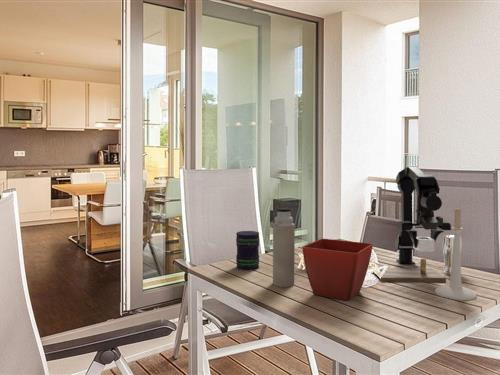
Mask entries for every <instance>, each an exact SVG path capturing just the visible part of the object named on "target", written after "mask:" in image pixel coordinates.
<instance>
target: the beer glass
mask: <svg viewBox="0 0 500 375" xmlns="http://www.w3.org/2000/svg"><path fill="white" fill-rule="evenodd" d="M454 237H455V236H454V234H444V235H443V238H442V252H443V253H442V254H443V260H444V261H443V262H444V265H443V266H444V267H443V270H442V272H443V273H444V274H448V275H451V266H452V254H453V242H454ZM462 245H463V242H462V236H461V235H460V251H461V252H462V247H463V246H462Z"/></svg>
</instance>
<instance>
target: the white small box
mask: <svg viewBox="0 0 500 375" xmlns="http://www.w3.org/2000/svg"><path fill="white" fill-rule="evenodd" d="M416 242H417V245H416V248H415V247H414V245H413V248H414V249H415V250H416V251H417V252H435V244H436V241H435V240H434V239H432V238H431V236H417V237H416Z"/></svg>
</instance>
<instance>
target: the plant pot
mask: <svg viewBox="0 0 500 375" xmlns="http://www.w3.org/2000/svg"><path fill="white" fill-rule="evenodd" d="M372 254H373V243H368V242H362V241H361V242H359V241H351V240H350V241H349V240H341V239H332V238H320V239H317V240H315V241H313V242H310V243H307V244H305V245H302V256H303V261H304V266H305V271H306V274H307V279H308V281H309V284H310V288H311V291H312V294H313V295H315V296H321V297H327V298H331V299H338V300H343V301H351V300H352V299H353V298H354V297H356V296H357V295H358V294H359V293H360V292H361V290H362V287H363V285H364V282H365V279H366V276H367V272H368V269H369V265H370V261H371V256H372Z"/></svg>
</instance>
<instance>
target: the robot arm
mask: <svg viewBox="0 0 500 375" xmlns="http://www.w3.org/2000/svg"><path fill="white" fill-rule="evenodd" d="M395 183H396V185H397V187H396V188H397V189H398V191H399V192H400V196H401V197H400V198H401V204H400V205H401V220H400V221H399V222H398V223H397V229H398V232H397V236H396V239H395V241H394V248H395V249H396V250H398V259H396V260H395V261H396V262H397V263H398V264H401V265H407V264H408V265H415V264H416V262H415V261H414V260H413V256H414V255H413V251H414V250H415V249H414V248H413V245H414V247H415V248H416V245H417V242H416V237H418V231H417V229H424V230H430V238H432V239H434V240H435V242H436V241H437V239H438V237H439V235H440V234H441V233H444V231H451V230H452V224H451V223H450V222H447V221H445V220H444V217H443V216H440V215H439V216H438V215H437V216H435V213H434V212H435V211H438V210H440V209H441V207H442V205H443V202H442V199H441V197H440V196H438V195H437V194H440V190H441V189H440V186H439V183H438V181H437V179H436V177H435V175H433V174H427V173H426V174H425V173H424V172H423V171H422V170H421V169H420V168H419V166H417V165H406V166H405V167H404V168H403V169H401V170H400V171H399V172H397V175H396V178H395ZM414 191H415V192H416V195H417V196H416V209H415V213H416V217H415V218H416V219H415V220H414V219H413V213H414V212H413V193H414ZM413 220H414V221H415V222H414V221H413Z"/></svg>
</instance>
